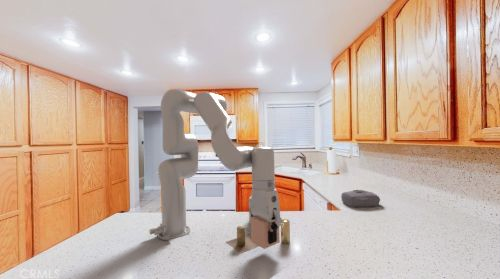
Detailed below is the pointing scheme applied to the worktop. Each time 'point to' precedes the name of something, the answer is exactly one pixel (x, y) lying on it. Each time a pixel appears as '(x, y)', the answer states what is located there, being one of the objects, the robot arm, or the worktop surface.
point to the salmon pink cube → (261, 232)
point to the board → (245, 248)
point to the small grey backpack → (360, 199)
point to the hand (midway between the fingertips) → (265, 237)
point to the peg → (285, 232)
